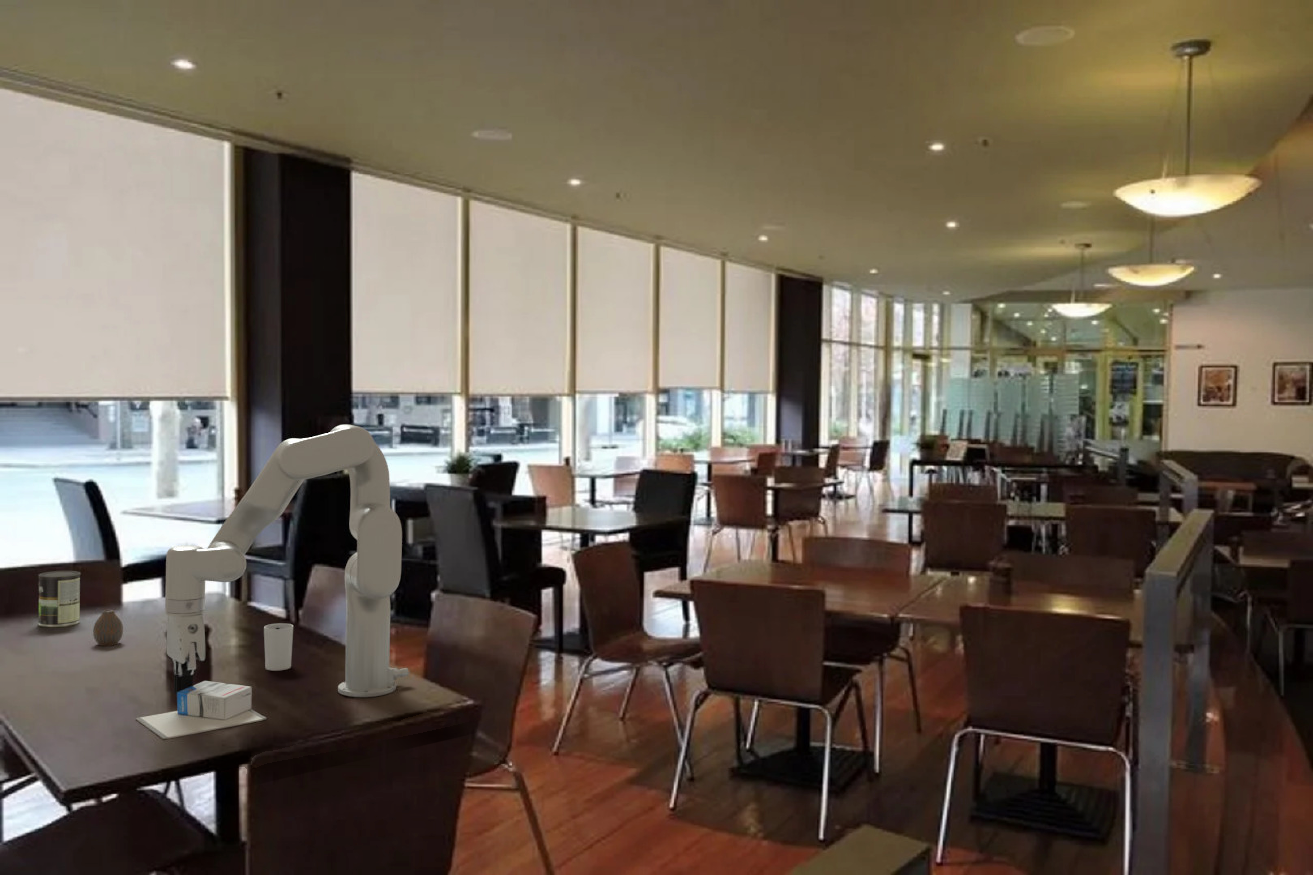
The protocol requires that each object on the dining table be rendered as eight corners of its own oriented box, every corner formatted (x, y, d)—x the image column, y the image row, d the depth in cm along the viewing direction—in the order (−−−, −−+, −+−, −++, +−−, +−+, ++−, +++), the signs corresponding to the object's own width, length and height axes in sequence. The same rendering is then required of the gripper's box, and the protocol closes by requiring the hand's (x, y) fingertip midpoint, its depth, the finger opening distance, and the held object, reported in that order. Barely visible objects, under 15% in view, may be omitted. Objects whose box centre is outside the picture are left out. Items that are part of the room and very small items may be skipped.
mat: (235, 701, 226) (235, 700, 226) (266, 719, 214) (266, 718, 214) (135, 719, 212) (135, 718, 212) (163, 739, 201) (163, 738, 201)
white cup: (257, 668, 254) (257, 627, 253) (279, 662, 260) (279, 622, 259) (277, 672, 251) (277, 630, 250) (298, 666, 256) (299, 625, 256)
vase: (107, 648, 270) (107, 614, 270) (86, 645, 272) (87, 611, 272) (129, 642, 276) (129, 609, 276) (108, 640, 279) (108, 607, 278)
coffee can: (36, 628, 290) (36, 577, 290) (40, 621, 299) (40, 571, 299) (78, 625, 294) (79, 575, 294) (81, 618, 304) (81, 569, 303)
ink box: (176, 714, 215) (224, 722, 212) (176, 690, 215) (224, 697, 211) (205, 702, 223) (252, 709, 220) (206, 679, 223) (252, 685, 220)
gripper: (216, 610, 216) (214, 698, 217) (191, 598, 227) (189, 683, 228) (178, 613, 211) (176, 705, 212) (154, 602, 222) (152, 688, 222)
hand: (183, 693), depth 220 cm, fingers closed
